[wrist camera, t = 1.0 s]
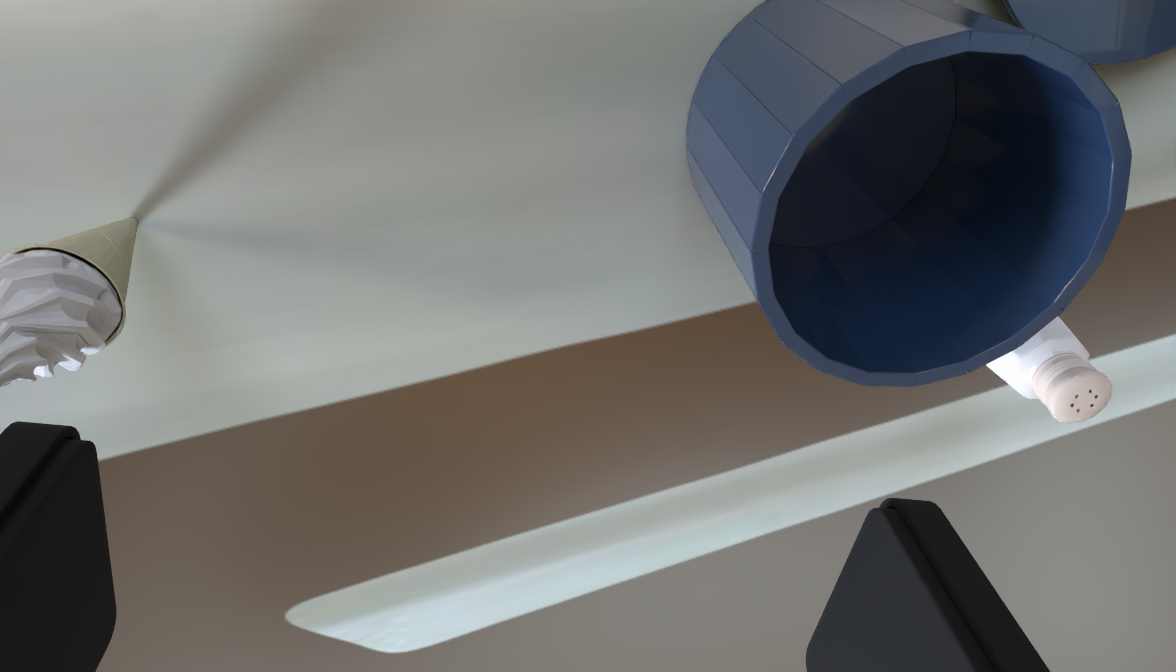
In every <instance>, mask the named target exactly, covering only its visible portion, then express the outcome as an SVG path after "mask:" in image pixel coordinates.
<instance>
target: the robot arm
mask: <svg viewBox="0 0 1176 672" xmlns="http://www.w3.org/2000/svg"><path fill="white" fill-rule="evenodd" d="M115 622H116V603H115V595H114V587H113V579H112V571H111V563H110V555H109V547H108V539H107V531H106V523H105V515H104V507H103V499H102V491H101V483H100V475H99V467H98V459H97V452H96V448H95V445H94V443H93V442H91V441H84V440H81V439H80V435H79V432H78V431H77V429H76V428H74V427H72V426H64V425H52V424H41V423H29V422H15V423H12V424H10V425H9V426H8V427H7V428H6V429H5V430H4V431H3V432H2V433H1V435H0V672H95V671H96V669H97V667H98V665H99V663H100V661H101V659H102V657H103V655H104V653H105V651H106V649H107V647H108V644H109V642H110V640H111V637H112V634H113V631H114V626H115ZM806 668H807V672H1050V671H1049V669H1048V668H1047V666H1046V665H1045V663H1044V662H1043V660H1042V659H1041V658H1040V656H1039V654H1038V653H1037V651H1036V650H1035V649H1034V647H1033V645H1032V644H1031V642H1030V641H1029V639H1028V638H1027V637H1026V635H1025V633H1024V632H1023V631H1022V629H1021V628H1020V626H1019V625H1018V623H1017V622H1016V620H1015V619H1014V617H1013V616H1012V614H1011V613H1010V611H1009V610H1008V608H1007V607H1006V605H1005V604H1004V602H1003V601H1002V599H1001V598H1000V597H999V595H998V594H997V592H996V590H995V589H994V588H993V586H992V585H991V583H990V582H989V580H988V579H987V577H986V576H985V574H984V573H983V571H982V570H981V568H980V567H979V565H978V564H977V562H976V561H975V559H974V558H973V556H972V555H971V553H970V552H969V550H968V549H967V547H966V546H965V544H964V543H963V542H962V540H961V539H960V537H959V536H958V534H957V533H956V531H955V530H954V528H953V527H952V525H951V524H950V522H949V521H948V519H947V518H946V516H945V515H944V513H943V512H942V510H941V509H940V508H939V507H938V506H937V505H936V504H935V503H932V502H931V501H922V500H910V499H899V498H889V499H886V500H885V501H884V502H882V504H881V505H880V507H879V508H873V509H872V510H871V511H870V512H869V513H868V515H867V517H866V519H865V521H864V523H863V525H862V528H861V530H860V532H859V534H858V536H857V539H856V541H855V543H854V545H853V547H852V550H851V552H850V554H849V556H848V558H847V561H846V563H845V565H844V567H843V570H842V572H841V574H840V576H839V578H838V581H837V583H836V585H835V587H834V590H833V592H832V594H831V596H830V598H829V601H828V603H827V605H826V607H825V609H824V612H823V614H822V616H821V618H820V620H819V623H818V625H817V627H816V629H815V631H814V634H813V636H812V638H811V640H810V642H809V645H808V648H807V652H806Z"/></svg>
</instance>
